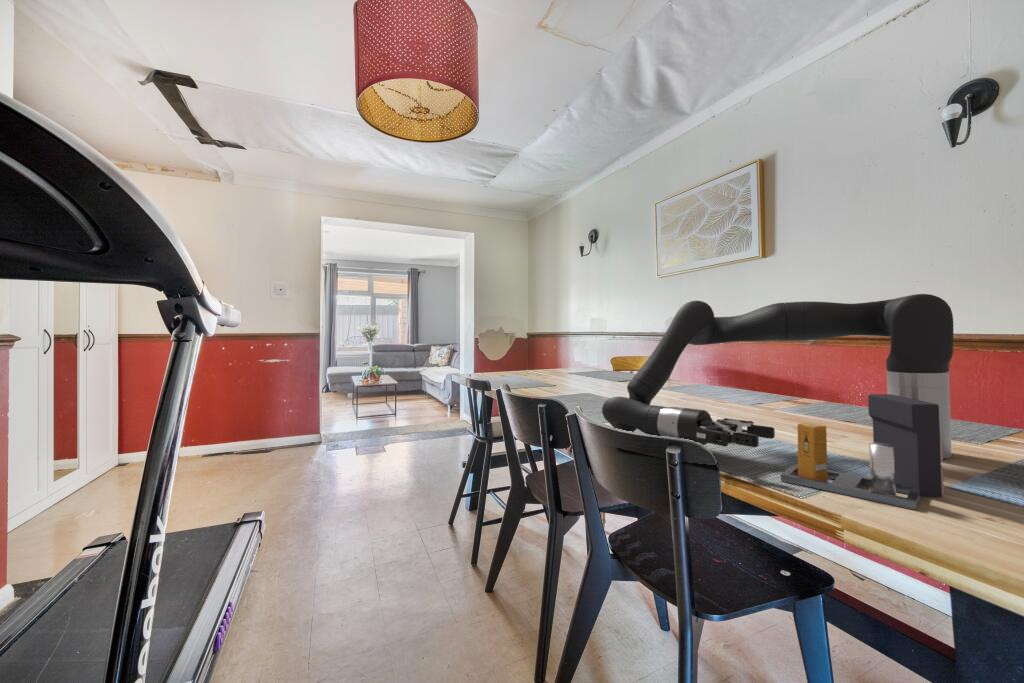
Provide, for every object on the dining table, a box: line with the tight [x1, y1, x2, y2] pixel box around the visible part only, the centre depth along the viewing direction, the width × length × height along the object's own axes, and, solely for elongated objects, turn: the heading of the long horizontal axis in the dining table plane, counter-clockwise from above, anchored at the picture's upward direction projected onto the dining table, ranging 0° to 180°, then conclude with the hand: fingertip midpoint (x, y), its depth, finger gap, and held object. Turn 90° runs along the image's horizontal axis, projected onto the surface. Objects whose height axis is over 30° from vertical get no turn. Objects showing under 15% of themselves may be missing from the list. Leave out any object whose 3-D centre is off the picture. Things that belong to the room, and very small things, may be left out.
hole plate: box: [780, 463, 922, 511], centre depth 67 cm, size 8×17×1 cm, turn 40°
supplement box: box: [796, 422, 829, 482], centre depth 71 cm, size 3×3×10 cm
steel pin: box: [868, 442, 897, 496], centre depth 64 cm, size 3×3×8 cm
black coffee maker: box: [867, 393, 945, 499], centre depth 68 cm, size 11×4×15 cm, turn 167°
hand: (766, 437), depth 76 cm, fingers open, 8 cm apart
